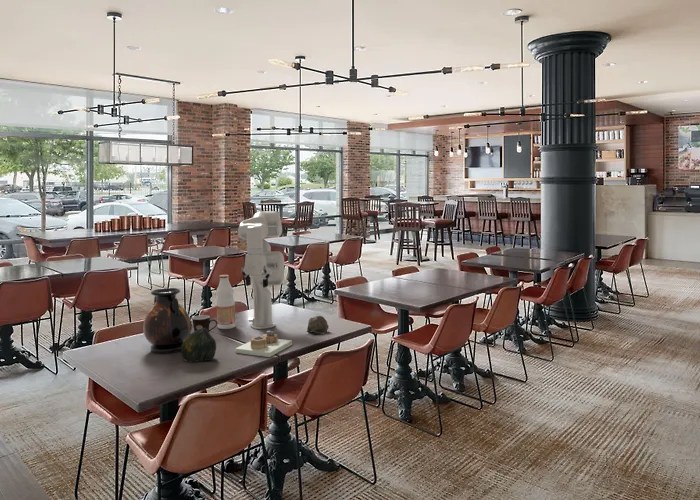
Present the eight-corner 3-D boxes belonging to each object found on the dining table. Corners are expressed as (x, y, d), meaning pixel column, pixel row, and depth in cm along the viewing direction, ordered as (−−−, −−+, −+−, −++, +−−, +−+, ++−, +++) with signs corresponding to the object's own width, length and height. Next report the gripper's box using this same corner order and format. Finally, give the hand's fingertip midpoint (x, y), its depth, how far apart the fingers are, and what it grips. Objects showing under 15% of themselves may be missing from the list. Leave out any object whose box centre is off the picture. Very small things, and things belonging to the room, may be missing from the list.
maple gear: (247, 348, 254) (247, 339, 254) (256, 344, 261) (255, 335, 260) (261, 350, 251) (261, 341, 251) (269, 345, 258) (269, 337, 257)
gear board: (235, 352, 255) (234, 337, 254) (259, 340, 273) (259, 326, 272) (269, 357, 247) (268, 341, 247) (292, 344, 266) (291, 329, 265)
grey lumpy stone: (318, 335, 279) (310, 316, 280) (307, 340, 285) (299, 322, 286) (333, 329, 287) (325, 311, 288) (321, 335, 293) (314, 317, 294)
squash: (170, 348, 244) (184, 326, 238) (197, 341, 257) (211, 320, 250) (187, 374, 239) (202, 352, 233) (213, 365, 252) (228, 344, 245)
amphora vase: (202, 347, 263) (198, 289, 260) (160, 359, 247) (156, 297, 244) (177, 339, 278) (174, 284, 274) (136, 350, 262) (131, 291, 258)
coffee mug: (189, 338, 280) (188, 318, 279) (201, 333, 288) (200, 314, 286) (207, 340, 275) (206, 320, 273) (219, 336, 282) (218, 316, 281)
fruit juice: (222, 330, 293) (219, 277, 290) (214, 327, 300) (211, 275, 297) (238, 327, 299) (236, 275, 296) (230, 323, 306) (228, 273, 303)
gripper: (235, 251, 269) (237, 286, 272) (266, 253, 263) (268, 289, 266) (244, 249, 276) (246, 283, 279) (274, 251, 269) (276, 285, 272)
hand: (256, 286), depth 272 cm, fingers open, 9 cm apart
